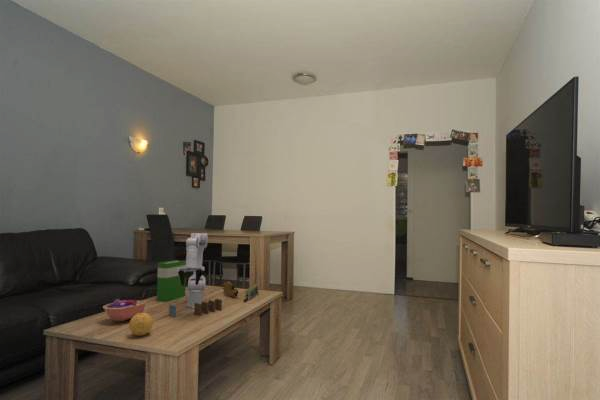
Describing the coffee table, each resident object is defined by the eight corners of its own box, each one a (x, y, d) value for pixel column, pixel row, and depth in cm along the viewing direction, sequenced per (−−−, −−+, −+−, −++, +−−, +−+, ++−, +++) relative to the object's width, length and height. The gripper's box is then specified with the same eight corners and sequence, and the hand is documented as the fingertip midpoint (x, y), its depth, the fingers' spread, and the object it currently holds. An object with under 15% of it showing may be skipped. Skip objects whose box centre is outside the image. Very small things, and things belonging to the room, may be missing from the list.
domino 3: (206, 314, 193) (206, 303, 193) (201, 312, 196) (201, 301, 196) (208, 313, 194) (208, 302, 194) (203, 312, 197) (203, 301, 197)
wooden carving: (240, 298, 230) (240, 282, 231) (235, 299, 227) (235, 283, 228) (225, 294, 241) (225, 279, 242) (219, 295, 238) (220, 280, 238)
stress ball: (141, 330, 165) (141, 308, 165) (157, 333, 161) (158, 311, 162) (123, 337, 156) (124, 314, 156) (140, 340, 152) (141, 316, 153)
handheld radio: (258, 294, 243) (246, 303, 218) (254, 294, 244) (241, 302, 219) (258, 284, 243) (246, 292, 219) (254, 284, 244) (241, 292, 219)
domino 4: (213, 312, 196) (213, 301, 196) (208, 310, 199) (208, 300, 200) (215, 312, 197) (215, 301, 197) (209, 310, 200) (210, 299, 201)
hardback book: (176, 295, 237) (177, 259, 238) (185, 296, 234) (185, 260, 236) (156, 301, 221) (157, 263, 222) (166, 302, 218) (166, 263, 219)
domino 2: (199, 315, 189) (199, 304, 190) (194, 314, 193) (194, 303, 193) (201, 315, 190) (201, 304, 190) (196, 313, 193) (196, 302, 194)
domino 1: (173, 317, 187) (174, 305, 187) (169, 315, 190) (169, 304, 190) (175, 316, 187) (176, 305, 188) (171, 315, 191) (171, 303, 191)
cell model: (150, 320, 181) (150, 298, 182) (107, 328, 168) (107, 304, 169) (139, 313, 194) (140, 292, 195) (99, 319, 181) (99, 297, 182)
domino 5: (220, 310, 200) (220, 300, 200) (214, 309, 203) (214, 298, 203) (221, 310, 200) (221, 299, 201) (216, 308, 204) (216, 298, 204)
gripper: (175, 258, 186) (173, 284, 181) (201, 257, 185) (200, 283, 180) (180, 261, 192) (178, 286, 187) (206, 259, 191) (205, 285, 186)
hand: (189, 285), depth 184 cm, fingers open, 7 cm apart
